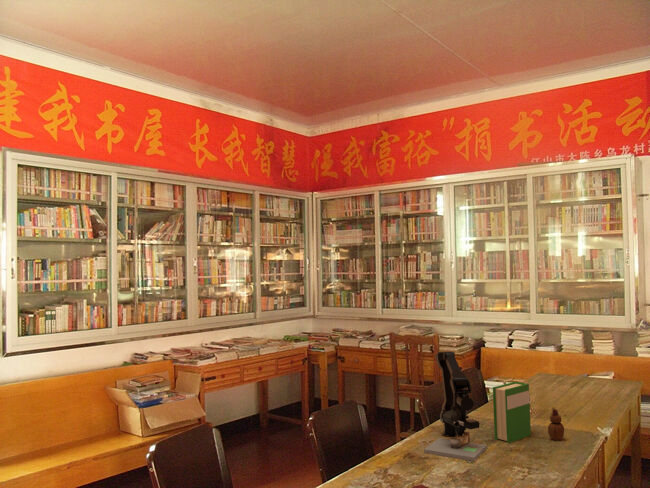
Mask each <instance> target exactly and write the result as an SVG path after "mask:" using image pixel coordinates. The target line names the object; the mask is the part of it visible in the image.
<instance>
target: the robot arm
mask: <svg viewBox="0 0 650 488" xmlns="http://www.w3.org/2000/svg"><path fill="white" fill-rule="evenodd" d="M434 359H435V361H436V365H437V367H438V368H439V370H440V372H441V380H442V389H443V398H444V400H443V401H444V402H443V404H442V406H441V411H440V413H439V420H440V422H441V423H442V424H443V427H444V428H443V430H444V432H442V433H441V435H442V436H444V437H446V436H447V437H451V438H456V437H459V436H462V435H464V432H466V430H467V429H468V430H474V429H480V422H479V421H478V420H477V419H473V418H471V419H469V415H468V414H467V412H468V411H471V410H472V409H473V407H474V405H475V403H474V401H473V399H472V397H470V394H472V386H471V382H470V380H469V378H468V377H467V375H466V373H465V372H463V371H462V370H461V368H460V366H459V363H458V361H457V358H456V354H455V352H454V351H451V350H450V351H437V353H436V354H435V356H434Z"/></svg>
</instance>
